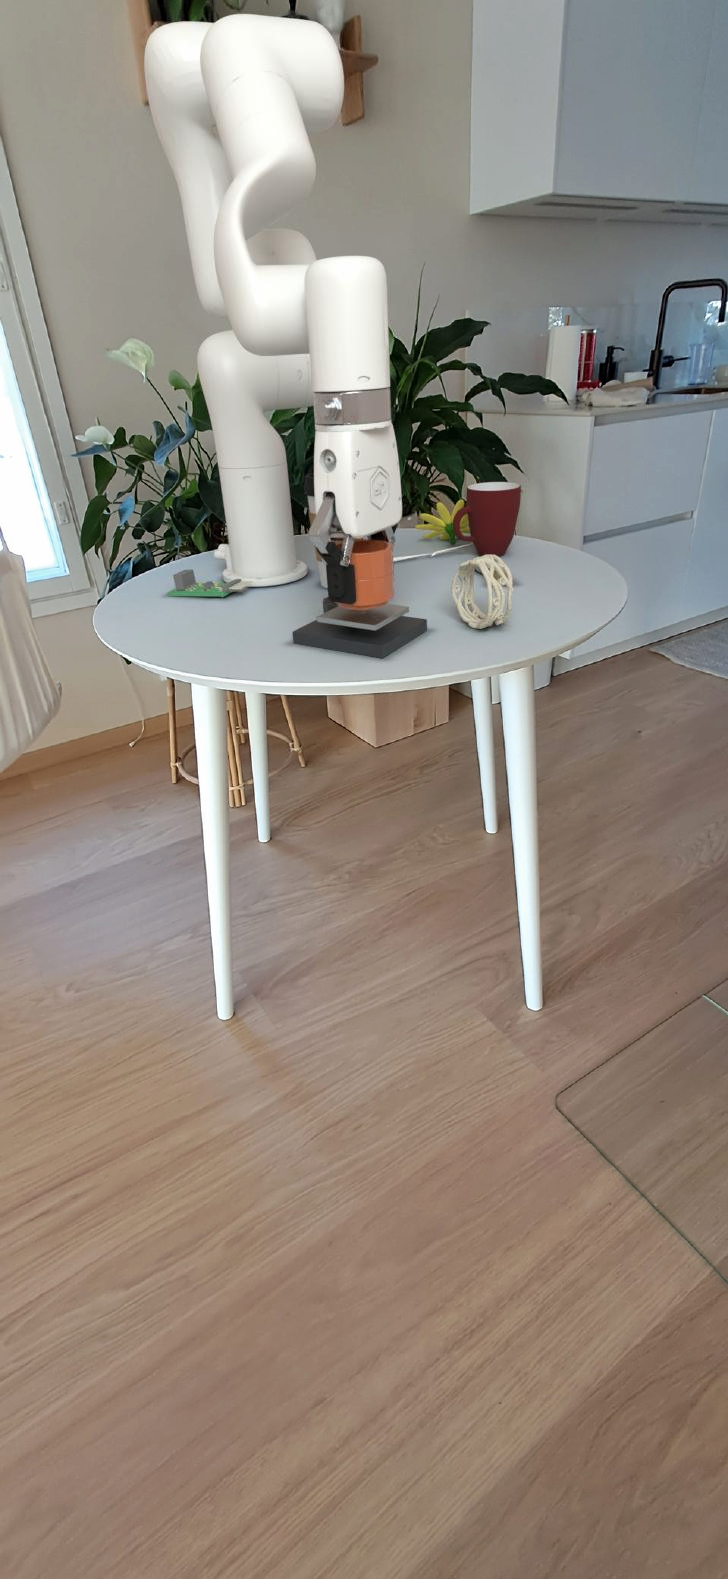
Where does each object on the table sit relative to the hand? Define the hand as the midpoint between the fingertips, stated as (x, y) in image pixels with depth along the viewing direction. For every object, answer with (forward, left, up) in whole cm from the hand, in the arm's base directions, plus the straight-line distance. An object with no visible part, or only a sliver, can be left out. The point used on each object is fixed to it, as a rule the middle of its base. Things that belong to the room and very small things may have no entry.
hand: (362, 591), depth 83 cm
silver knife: (-6, +46, -5) cm, 47 cm away
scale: (-2, +2, -6) cm, 6 cm away
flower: (-16, +43, -2) cm, 45 cm away
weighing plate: (0, 0, -3) cm, 3 cm away
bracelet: (+9, +10, -6) cm, 15 cm away
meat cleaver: (+3, +33, -5) cm, 34 cm away
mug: (-4, +42, -6) cm, 43 cm away
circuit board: (-32, +12, -4) cm, 34 cm away
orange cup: (0, 0, -1) cm, 1 cm away
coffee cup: (-17, +20, -6) cm, 27 cm away
